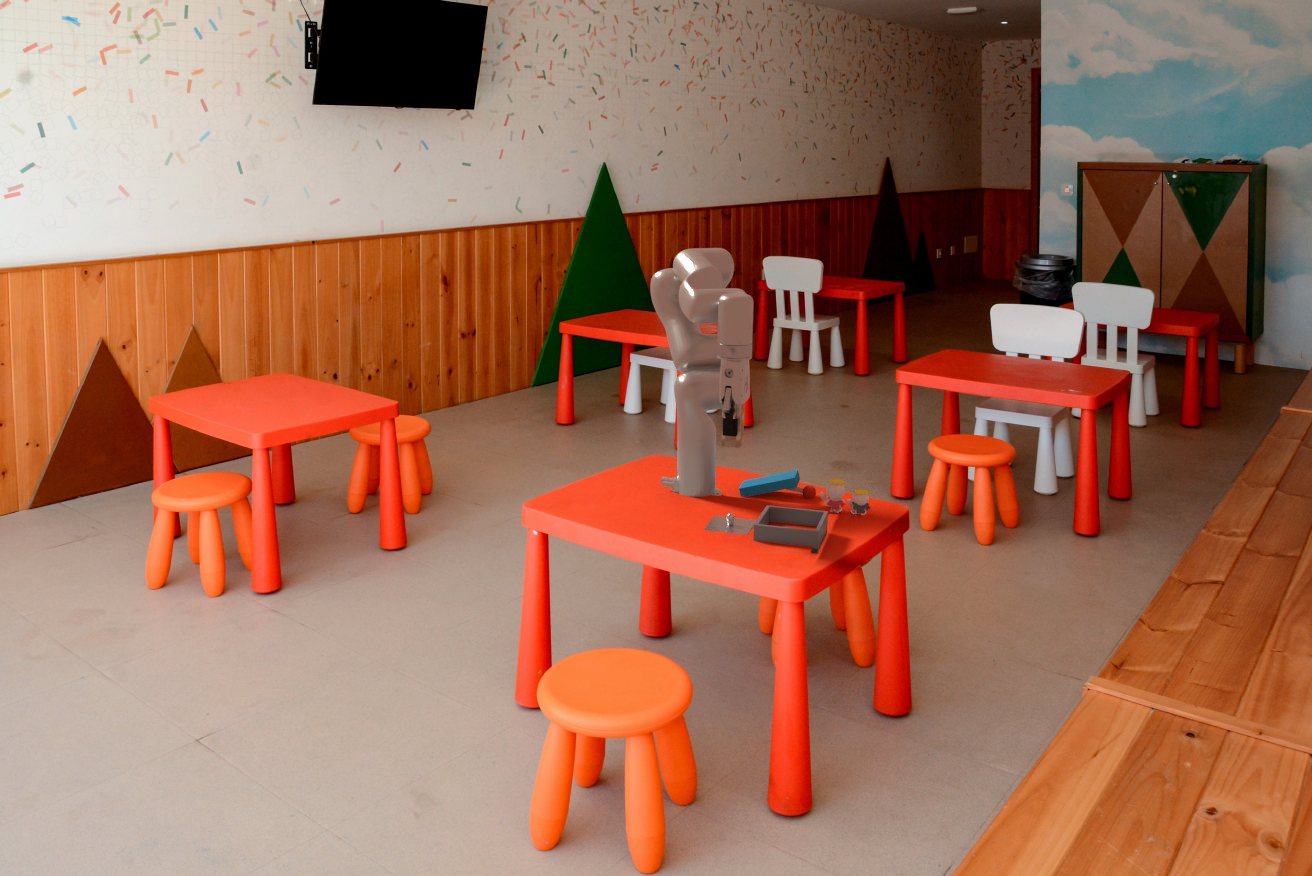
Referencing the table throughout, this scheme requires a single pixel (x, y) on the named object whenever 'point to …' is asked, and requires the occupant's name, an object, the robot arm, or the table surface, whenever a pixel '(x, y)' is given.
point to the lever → (776, 485)
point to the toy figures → (836, 493)
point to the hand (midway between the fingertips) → (732, 432)
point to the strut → (738, 440)
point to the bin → (792, 534)
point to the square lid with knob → (730, 524)
